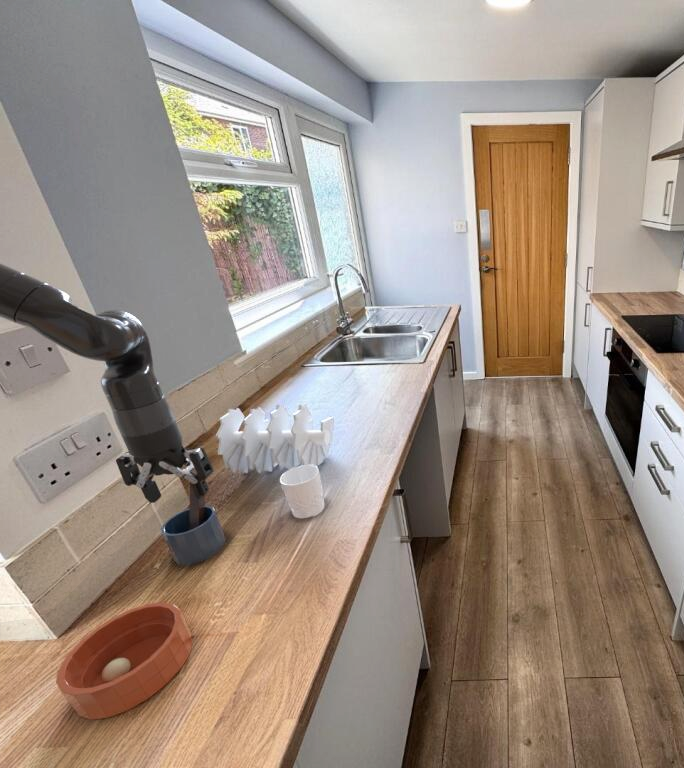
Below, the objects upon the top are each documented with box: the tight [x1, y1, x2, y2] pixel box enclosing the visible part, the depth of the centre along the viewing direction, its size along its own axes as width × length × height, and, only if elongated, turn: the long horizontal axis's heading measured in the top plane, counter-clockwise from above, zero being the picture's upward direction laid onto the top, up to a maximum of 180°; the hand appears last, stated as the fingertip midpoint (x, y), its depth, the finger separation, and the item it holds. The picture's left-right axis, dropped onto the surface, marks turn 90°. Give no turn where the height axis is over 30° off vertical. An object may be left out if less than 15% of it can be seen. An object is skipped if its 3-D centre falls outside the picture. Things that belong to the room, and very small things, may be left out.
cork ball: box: [102, 658, 131, 682], centre depth 59 cm, size 3×3×3 cm
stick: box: [189, 471, 206, 531], centre depth 83 cm, size 2×2×16 cm
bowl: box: [55, 601, 194, 720], centre depth 60 cm, size 14×14×6 cm
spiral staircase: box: [214, 404, 335, 474], centre depth 108 cm, size 18×18×25 cm
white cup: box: [279, 464, 325, 519], centre depth 92 cm, size 8×8×10 cm
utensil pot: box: [160, 505, 227, 566], centre depth 82 cm, size 9×9×8 cm
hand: (179, 498), depth 78 cm, fingers open, 8 cm apart
